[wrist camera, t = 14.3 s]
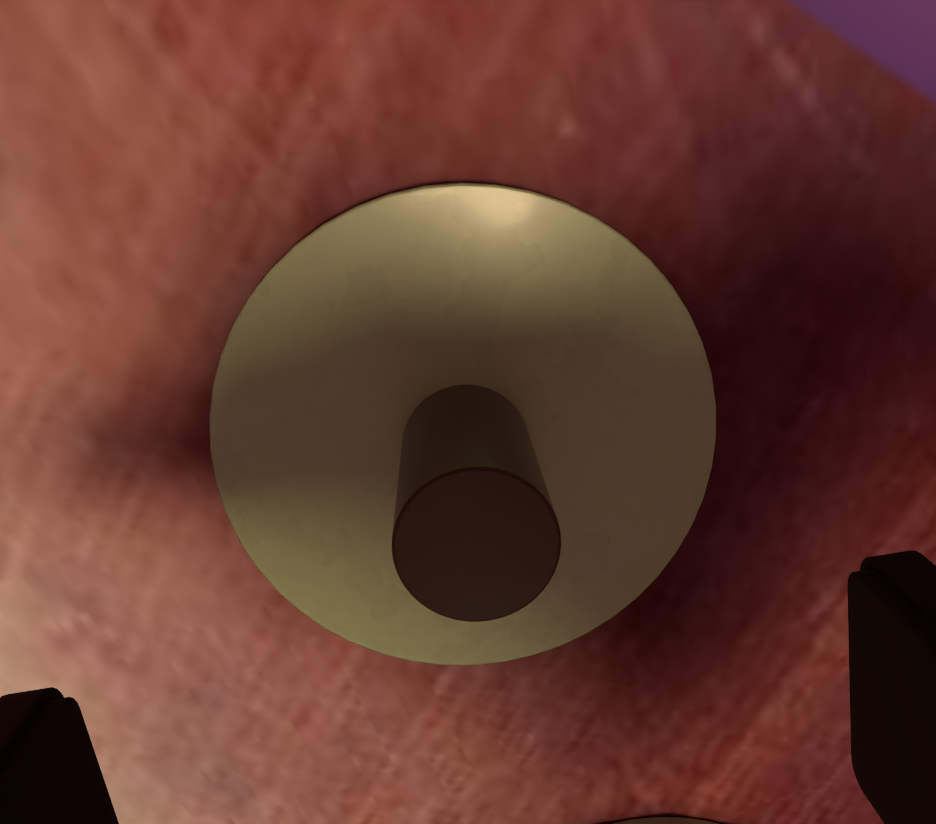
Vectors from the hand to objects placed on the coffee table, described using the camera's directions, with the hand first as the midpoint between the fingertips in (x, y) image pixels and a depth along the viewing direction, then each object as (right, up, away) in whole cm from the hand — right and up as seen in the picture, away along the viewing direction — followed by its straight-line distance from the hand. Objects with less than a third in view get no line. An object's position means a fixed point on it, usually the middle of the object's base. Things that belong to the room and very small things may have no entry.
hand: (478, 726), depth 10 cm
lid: (0, +3, +11) cm, 11 cm away
